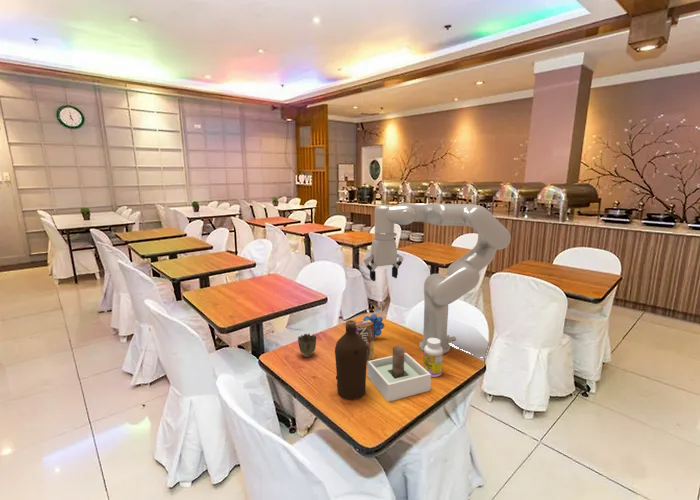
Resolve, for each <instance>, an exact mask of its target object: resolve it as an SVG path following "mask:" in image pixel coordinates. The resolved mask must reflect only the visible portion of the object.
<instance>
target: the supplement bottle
mask: <svg viewBox="0 0 700 500" xmlns="http://www.w3.org/2000/svg"><path fill="white" fill-rule="evenodd" d="M427 344H428V345H426V346H425V348H424V351H423V365H422V367H423V368H424V369H425V370H427V371H428V372H429V373H430V374H431V378H437V377H439V376H441V375H442V371H443V355H444V354H443V349H442V347H441V346H440V340H439V339H437V338H429V339H427Z"/></svg>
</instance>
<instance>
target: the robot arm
mask: <svg viewBox="0 0 700 500" xmlns="http://www.w3.org/2000/svg"><path fill="white" fill-rule="evenodd" d="M413 222H414V223H415V222H418V223H427V224H430V225H435V226H443V227H444V226H447V227H448V226H449V227H450V226H452V227H454V226H455V227H456V226H457V227H458V226H459V227H460V226H461V227H470V228H472V229H473V230H474V232H476V233H477V242H476V244H475V246H474V247H472V249H471V250H469V251H468V252H466V253H465V254H464V255H462V256H461V257H459V258H458V259H456V260H455V261H453V262H451V263H450V265H448V268H447V275H448V276H446V277H445V276H444V275H442V274H441V273H432V274H429V275H428V276H427V277H426V278H425V281H424V284H423V296H424V297H423V298H424V299H423V300H424V304H423V305H424V309H423V332H422V333H423V337H422V338H423V339H422V340H421V341H419V343H418V344H419V345H418V346H419V349H420V350H421V351H423V352H424V348H425V346H426V345H428V344H427V339H429V338H437V339H439V340H440V346H441V347H442V349H443V355H444V354H447V353H449V352H450V351H451V345H450V343H451V342H456V341H457V336H455V335H454V336H453V335H452V336H450V335H448V323H449V322H448V318H449V305H450V304H452V303H453V302H456V301H457V300H458V299H460V298H461V297H462V298H463V296H464V295H466V294H467V293H469V292H470V291H472V290H473V289H474V288H475V287H476V286H477V285H478V283H479V281H480V273H479V272H481V271H482V270H483V269H484V268H485V269H486V267H487V266H489V264H491V262H492V261H493V260H494V258H495V256H496V253H497V251H498V250H499V251H500V250H503V249H505V248H508V246H509V245H510V244H511V234H510V232H509V230H508V229H507V228H506V227H505V225H503V224H502V223H501V222H500V221H499V220H498V219H497V218H496V217H495V216H494V214H493V213H491V211H489V210H488V209H487V208H486V207H484V206H482V205H477V204H472V203H417V202H415V203H413V202H412V203H411V202H408V203H407V202H404V203H403V202H402V203H399V204H397V205H395V206H393V205H391V204H381V205H380V204H378V205H377V206H375V208H374V239H373V240H372V243H371V247H370V248H371V249H370V255H369V256H368V257H367V258H366V259H364V260H363V263H364V265H365V267H366V268H367V269H368V270H369V279H370V280H371V281H373V282H376V278H377V277H376V275H377V274H376V269H377V267H384V266H386V267H387V266H392V268H391V277H392V278H394V279H398V275H399V274H398V273H399V270H398V269H400V266H401V265H402V264H403V261H404V256H402V255H400V254H398V249H397V243H396V240H395V237H397V235H398V234H397V233H396V232H395V225H402V226H405V225H406V226H407V225H410V224H412V223H413Z"/></svg>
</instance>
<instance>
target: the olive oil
mask: <svg viewBox="0 0 700 500" xmlns="http://www.w3.org/2000/svg"><path fill="white" fill-rule="evenodd" d="M334 358H335V359H334V360H335V370H336V376H335V379H336V383H337V384H336V385H337V387H336V389H337V394H338V396H339V397H340V398H342V399H345V400H348V401H349V400H358V399H360V398H362V397H363V396H364V395H365V394H366V389H367V388H366V387H367V386H366V382H367V346H366V343H365V341H364V340H363V339H362V338H361V337H360V336H359V335H358V334H357V333H356V321H355V320H352V319H350V320H346V321H345V333H344V334H342V336H341V337H340V338H339V339H338V340H337V341H336V344H335V347H334Z"/></svg>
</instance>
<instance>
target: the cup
mask: <svg viewBox="0 0 700 500" xmlns="http://www.w3.org/2000/svg"><path fill="white" fill-rule="evenodd" d="M297 342H298V347H299V351H300V352H301V354H303V357H304V358H311V357H312V356H313V353H314V351H315V350H316V346H317V335H315V334H314V333H313V334H310V333H304V334H303V335H302V334H301V335H300V336H298V337H297Z"/></svg>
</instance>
